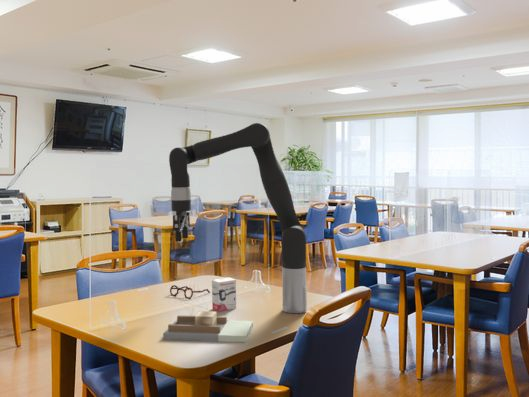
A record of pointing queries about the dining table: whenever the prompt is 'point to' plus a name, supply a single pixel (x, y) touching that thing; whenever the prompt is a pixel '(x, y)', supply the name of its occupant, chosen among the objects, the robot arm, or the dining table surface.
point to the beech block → (206, 318)
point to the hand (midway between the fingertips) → (181, 239)
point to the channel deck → (208, 330)
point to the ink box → (223, 294)
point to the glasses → (185, 291)
